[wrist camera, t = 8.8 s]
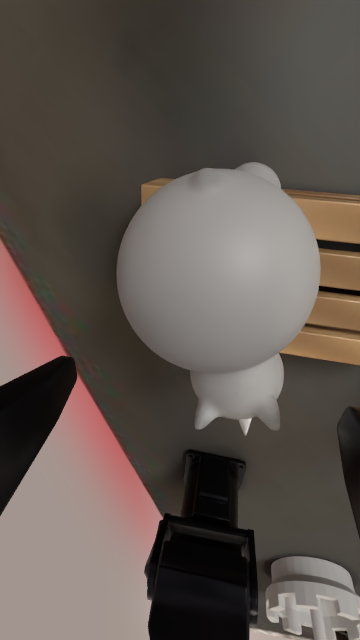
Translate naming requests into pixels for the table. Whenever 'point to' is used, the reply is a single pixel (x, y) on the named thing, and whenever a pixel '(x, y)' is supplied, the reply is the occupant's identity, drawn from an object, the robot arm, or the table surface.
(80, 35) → the table surface
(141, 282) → the round bodied animal figurine
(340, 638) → the bird sculpture
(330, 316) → the wooden pallet
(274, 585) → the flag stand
